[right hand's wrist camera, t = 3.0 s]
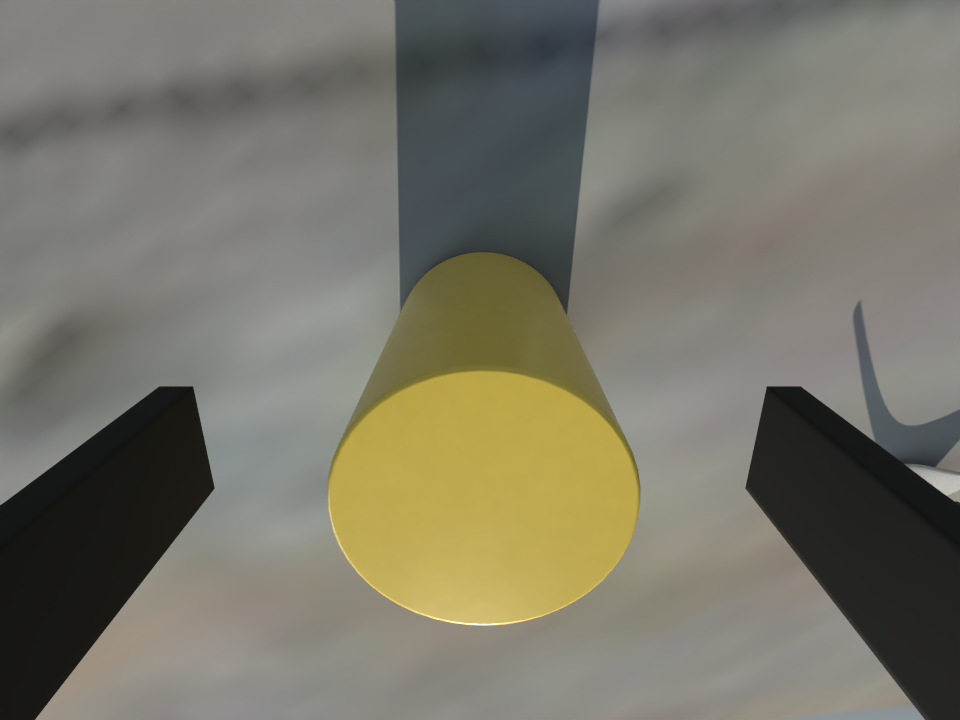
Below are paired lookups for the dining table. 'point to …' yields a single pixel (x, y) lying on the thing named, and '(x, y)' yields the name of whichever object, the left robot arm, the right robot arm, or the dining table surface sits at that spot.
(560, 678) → the dining table surface
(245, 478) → the dining table surface
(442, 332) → the can
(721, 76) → the dining table surface
